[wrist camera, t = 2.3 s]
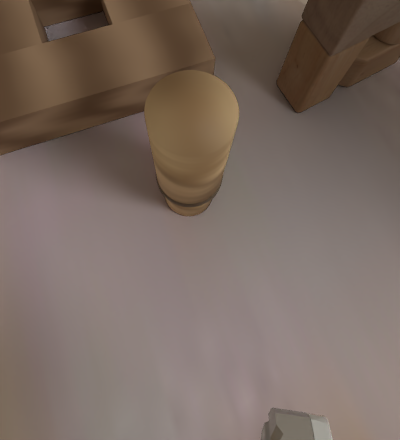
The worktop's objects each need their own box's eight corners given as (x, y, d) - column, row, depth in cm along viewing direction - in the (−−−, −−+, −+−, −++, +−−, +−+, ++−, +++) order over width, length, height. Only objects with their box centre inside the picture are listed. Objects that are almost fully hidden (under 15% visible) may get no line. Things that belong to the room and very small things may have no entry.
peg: (205, 159, 29) (219, 58, 17) (225, 209, 28) (254, 138, 16) (152, 176, 28) (130, 84, 17) (171, 228, 27) (161, 168, 16)
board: (151, -50, 34) (147, -97, 30) (211, 90, 30) (215, 58, 27) (-42, -3, 32) (-74, -46, 28) (0, 155, 28) (-30, 130, 24)
